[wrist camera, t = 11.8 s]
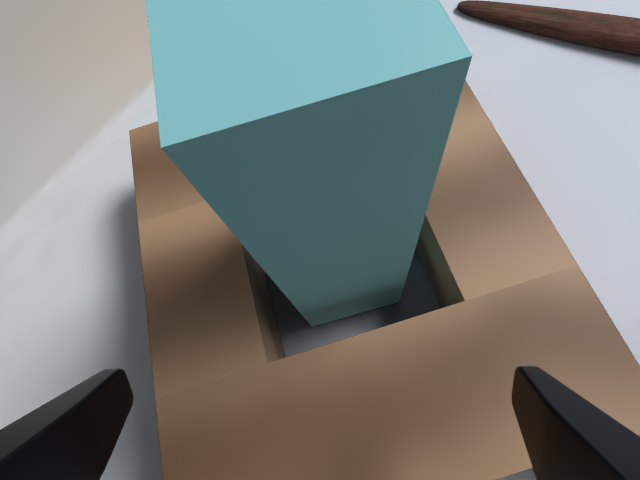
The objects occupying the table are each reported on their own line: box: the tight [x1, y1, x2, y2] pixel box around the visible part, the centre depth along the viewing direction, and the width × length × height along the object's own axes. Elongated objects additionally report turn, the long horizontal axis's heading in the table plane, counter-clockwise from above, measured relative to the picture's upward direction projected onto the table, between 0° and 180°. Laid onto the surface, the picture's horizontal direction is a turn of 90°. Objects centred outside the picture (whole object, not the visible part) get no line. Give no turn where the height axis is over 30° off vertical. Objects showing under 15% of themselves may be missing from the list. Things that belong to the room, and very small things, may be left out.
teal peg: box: [146, 0, 472, 327], centre depth 11 cm, size 4×4×13 cm
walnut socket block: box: [129, 80, 640, 480], centre depth 16 cm, size 17×15×4 cm
